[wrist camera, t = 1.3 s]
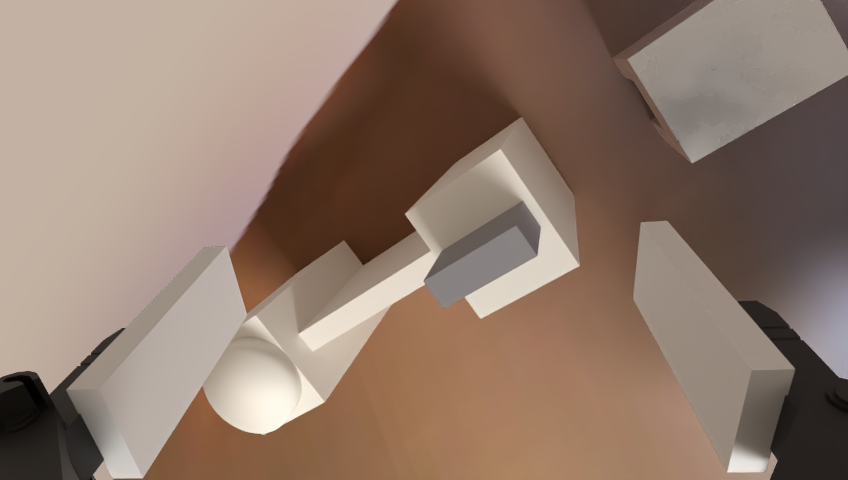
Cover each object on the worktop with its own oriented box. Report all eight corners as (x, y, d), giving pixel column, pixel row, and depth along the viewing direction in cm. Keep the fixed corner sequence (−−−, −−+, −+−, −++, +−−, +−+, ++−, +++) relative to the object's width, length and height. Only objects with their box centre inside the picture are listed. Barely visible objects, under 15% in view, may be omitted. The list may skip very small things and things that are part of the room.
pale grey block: (731, -25, 31) (791, -53, 23) (783, 65, 32) (858, 69, 24) (611, 58, 35) (627, 59, 26) (662, 138, 35) (692, 163, 27)
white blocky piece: (521, 116, 37) (489, 165, 21) (573, 195, 38) (582, 301, 22) (296, 272, 47) (152, 391, 30) (343, 333, 47) (227, 479, 31)
